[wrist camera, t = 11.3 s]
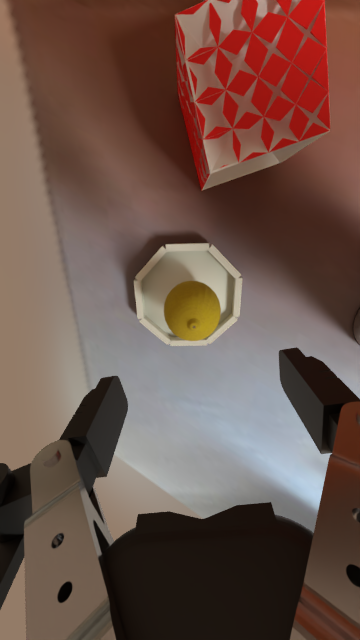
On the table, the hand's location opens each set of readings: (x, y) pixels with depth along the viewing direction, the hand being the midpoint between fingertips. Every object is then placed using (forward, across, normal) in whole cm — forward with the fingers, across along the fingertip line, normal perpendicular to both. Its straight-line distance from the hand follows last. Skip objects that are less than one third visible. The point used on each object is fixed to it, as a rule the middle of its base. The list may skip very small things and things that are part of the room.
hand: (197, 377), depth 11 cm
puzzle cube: (+17, -6, -14) cm, 23 cm away
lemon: (+16, 0, +1) cm, 16 cm away
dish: (+16, 0, 0) cm, 16 cm away
